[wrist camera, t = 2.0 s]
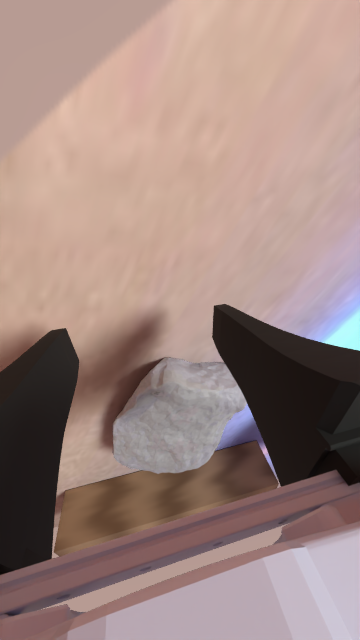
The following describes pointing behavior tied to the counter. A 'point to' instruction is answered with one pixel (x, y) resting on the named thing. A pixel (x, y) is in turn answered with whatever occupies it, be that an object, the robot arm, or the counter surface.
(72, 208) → the counter surface
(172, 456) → the stone block
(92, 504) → the walnut wall
